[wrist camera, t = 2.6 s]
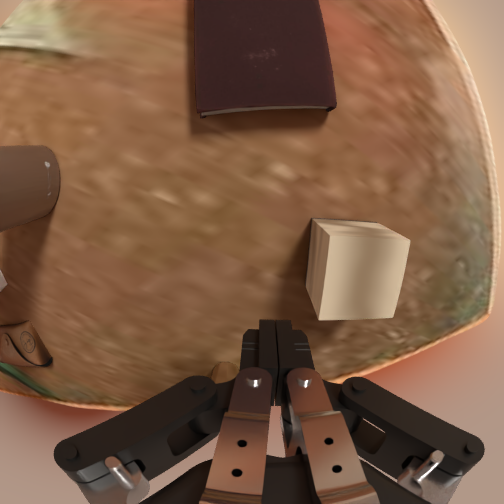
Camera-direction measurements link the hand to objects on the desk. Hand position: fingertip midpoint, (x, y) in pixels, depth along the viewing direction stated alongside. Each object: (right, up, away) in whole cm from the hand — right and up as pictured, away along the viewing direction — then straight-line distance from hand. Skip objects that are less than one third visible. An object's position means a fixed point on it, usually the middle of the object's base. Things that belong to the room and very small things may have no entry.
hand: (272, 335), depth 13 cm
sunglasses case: (-44, -12, +21) cm, 50 cm away
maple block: (+8, +4, +14) cm, 17 cm away
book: (0, +26, +8) cm, 27 cm away
